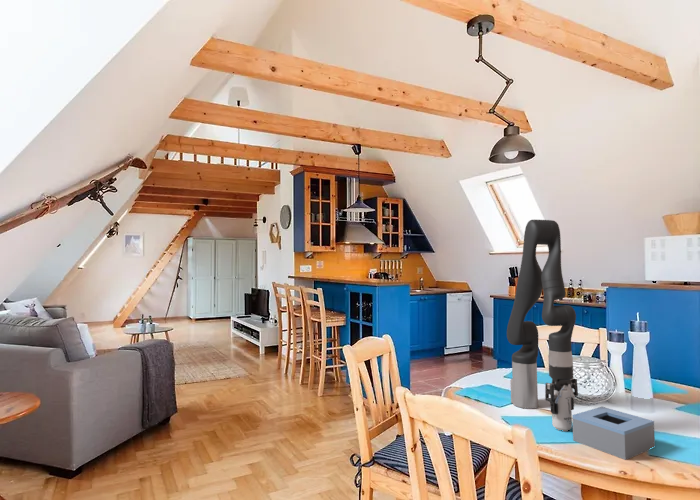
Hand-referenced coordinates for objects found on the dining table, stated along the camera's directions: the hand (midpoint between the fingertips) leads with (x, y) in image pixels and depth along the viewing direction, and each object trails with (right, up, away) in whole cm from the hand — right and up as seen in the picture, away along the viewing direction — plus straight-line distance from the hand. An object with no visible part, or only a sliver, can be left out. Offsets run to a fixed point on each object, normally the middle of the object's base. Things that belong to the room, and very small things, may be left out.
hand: (562, 411), depth 148 cm
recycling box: (+9, -5, -13) cm, 17 cm away
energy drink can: (0, -6, 0) cm, 6 cm away
